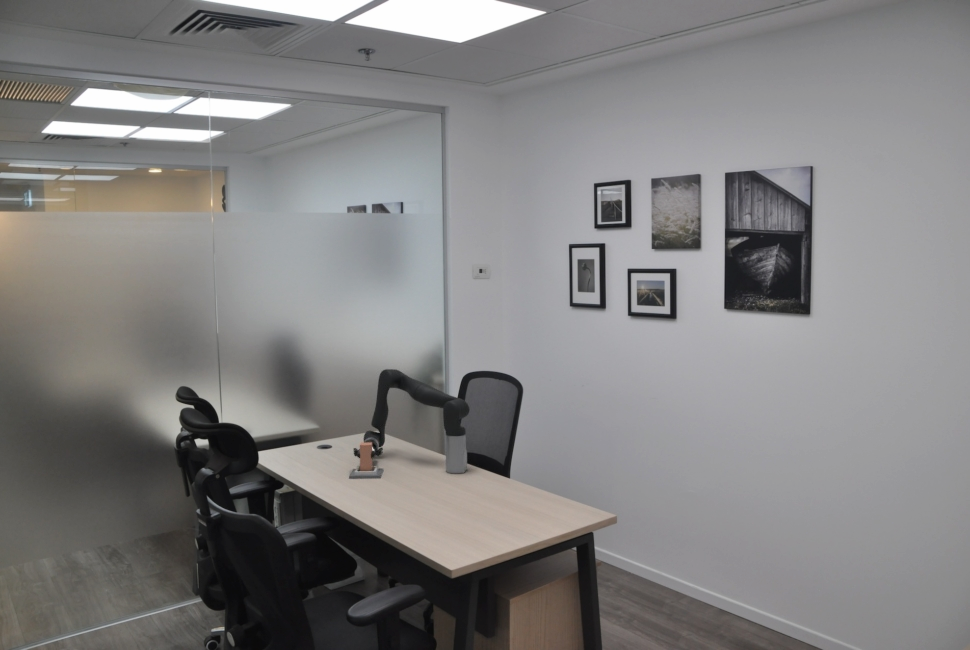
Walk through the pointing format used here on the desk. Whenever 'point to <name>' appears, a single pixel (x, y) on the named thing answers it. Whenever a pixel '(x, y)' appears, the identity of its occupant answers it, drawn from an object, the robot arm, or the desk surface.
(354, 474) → the baseplate
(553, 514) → the desk surface
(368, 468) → the column
